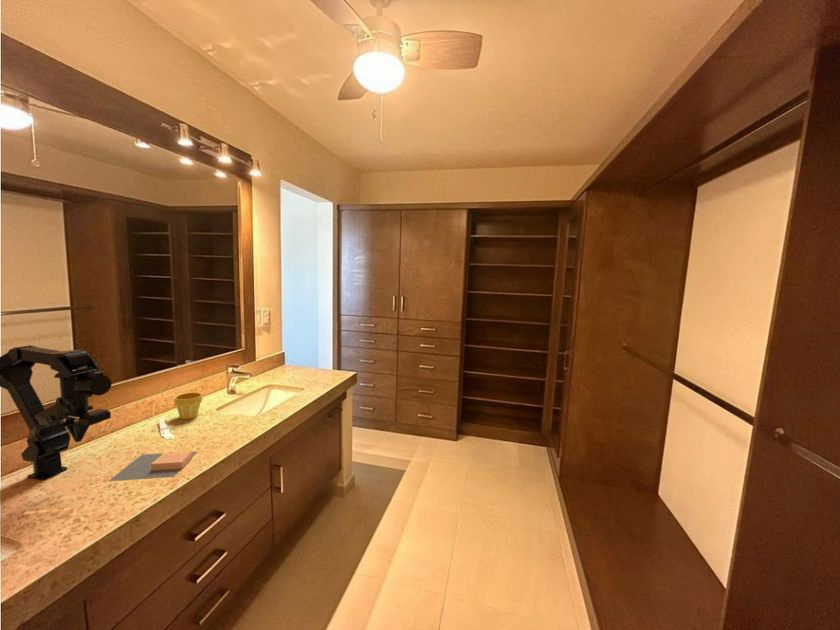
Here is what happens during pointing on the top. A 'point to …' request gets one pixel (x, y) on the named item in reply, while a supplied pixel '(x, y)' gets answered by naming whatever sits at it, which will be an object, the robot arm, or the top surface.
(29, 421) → the robot arm
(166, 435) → the knife
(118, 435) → the top surface
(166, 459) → the tile
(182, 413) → the plant pot
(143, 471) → the mat
